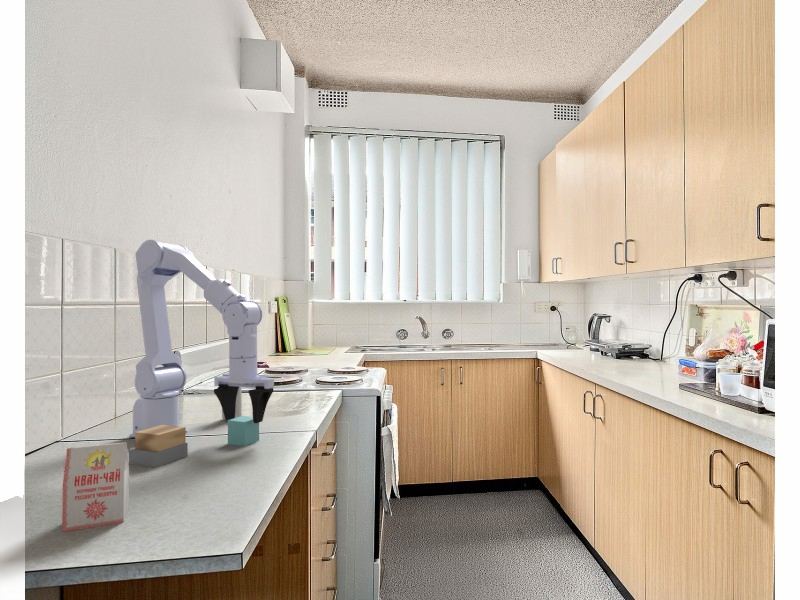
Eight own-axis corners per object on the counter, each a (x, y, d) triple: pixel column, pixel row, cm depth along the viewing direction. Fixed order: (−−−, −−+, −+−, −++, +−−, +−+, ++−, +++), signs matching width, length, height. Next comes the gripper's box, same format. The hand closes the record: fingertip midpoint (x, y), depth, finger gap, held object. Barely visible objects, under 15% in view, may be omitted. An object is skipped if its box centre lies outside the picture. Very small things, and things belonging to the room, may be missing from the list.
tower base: (128, 465, 85) (128, 449, 85) (161, 454, 92) (161, 439, 92) (155, 469, 83) (155, 453, 83) (187, 458, 89) (187, 442, 89)
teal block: (227, 444, 97) (227, 420, 97) (242, 438, 101) (242, 415, 102) (244, 446, 96) (244, 422, 96) (259, 440, 100) (259, 417, 100)
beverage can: (235, 421, 117) (234, 374, 118) (218, 421, 118) (217, 374, 119) (245, 417, 122) (244, 372, 122) (228, 417, 123) (228, 371, 123)
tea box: (71, 519, 62) (71, 444, 62) (128, 511, 64) (129, 439, 64) (62, 531, 58) (62, 452, 59) (123, 522, 61) (123, 446, 61)
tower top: (135, 448, 86) (135, 432, 86) (162, 440, 91) (162, 424, 91) (159, 451, 84) (159, 434, 84) (185, 442, 89) (185, 427, 89)
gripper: (282, 356, 100) (283, 419, 99) (230, 355, 105) (231, 414, 105) (261, 359, 93) (261, 426, 93) (206, 357, 99) (207, 421, 99)
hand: (243, 420), depth 99 cm, fingers open, 7 cm apart
